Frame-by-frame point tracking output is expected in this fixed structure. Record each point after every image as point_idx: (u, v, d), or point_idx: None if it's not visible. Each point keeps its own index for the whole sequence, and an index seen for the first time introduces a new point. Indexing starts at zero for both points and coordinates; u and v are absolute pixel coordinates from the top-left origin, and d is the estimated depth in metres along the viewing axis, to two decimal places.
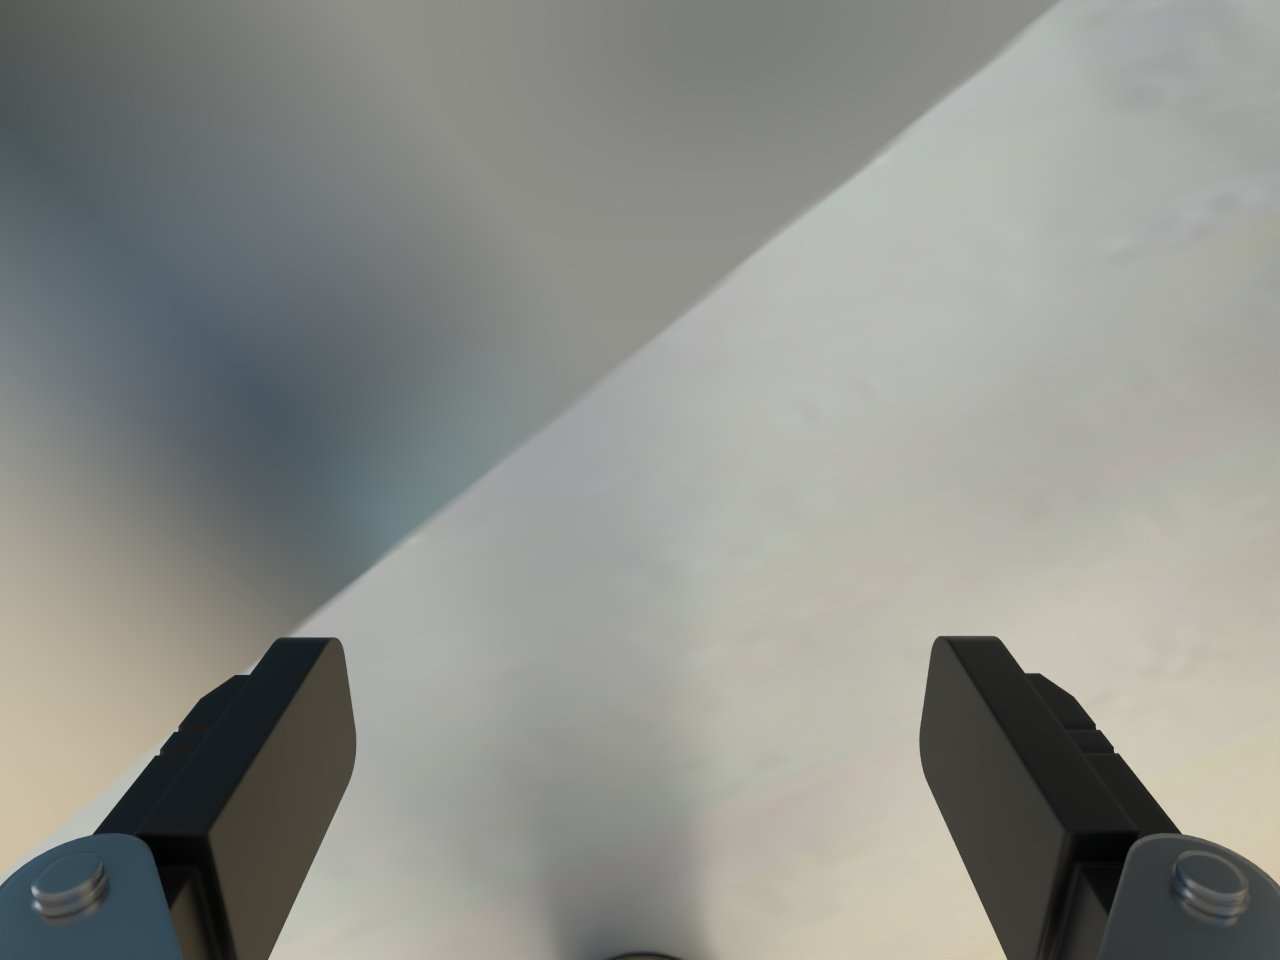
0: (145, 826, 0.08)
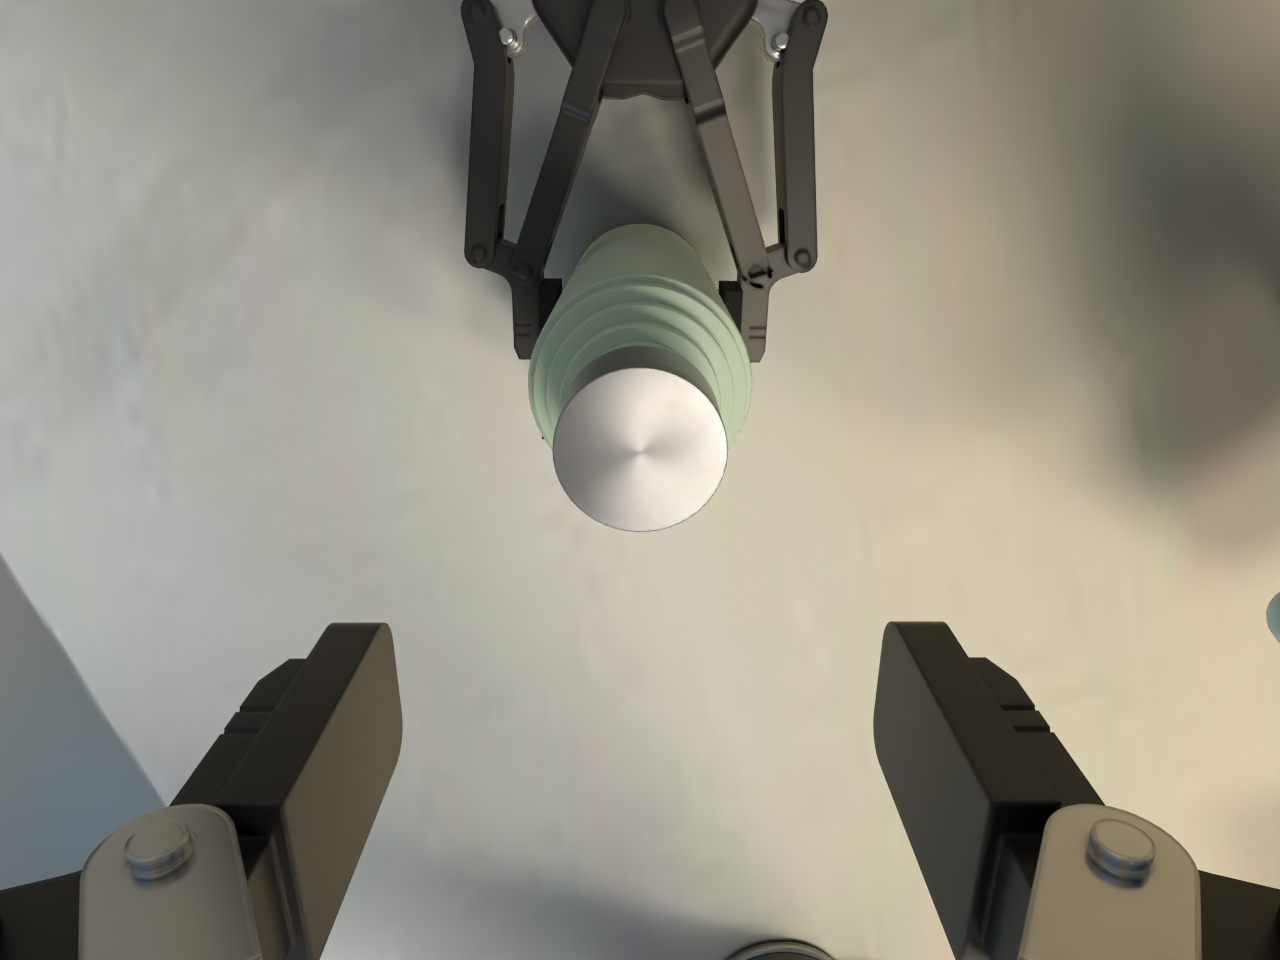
0: (223, 798, 0.08)
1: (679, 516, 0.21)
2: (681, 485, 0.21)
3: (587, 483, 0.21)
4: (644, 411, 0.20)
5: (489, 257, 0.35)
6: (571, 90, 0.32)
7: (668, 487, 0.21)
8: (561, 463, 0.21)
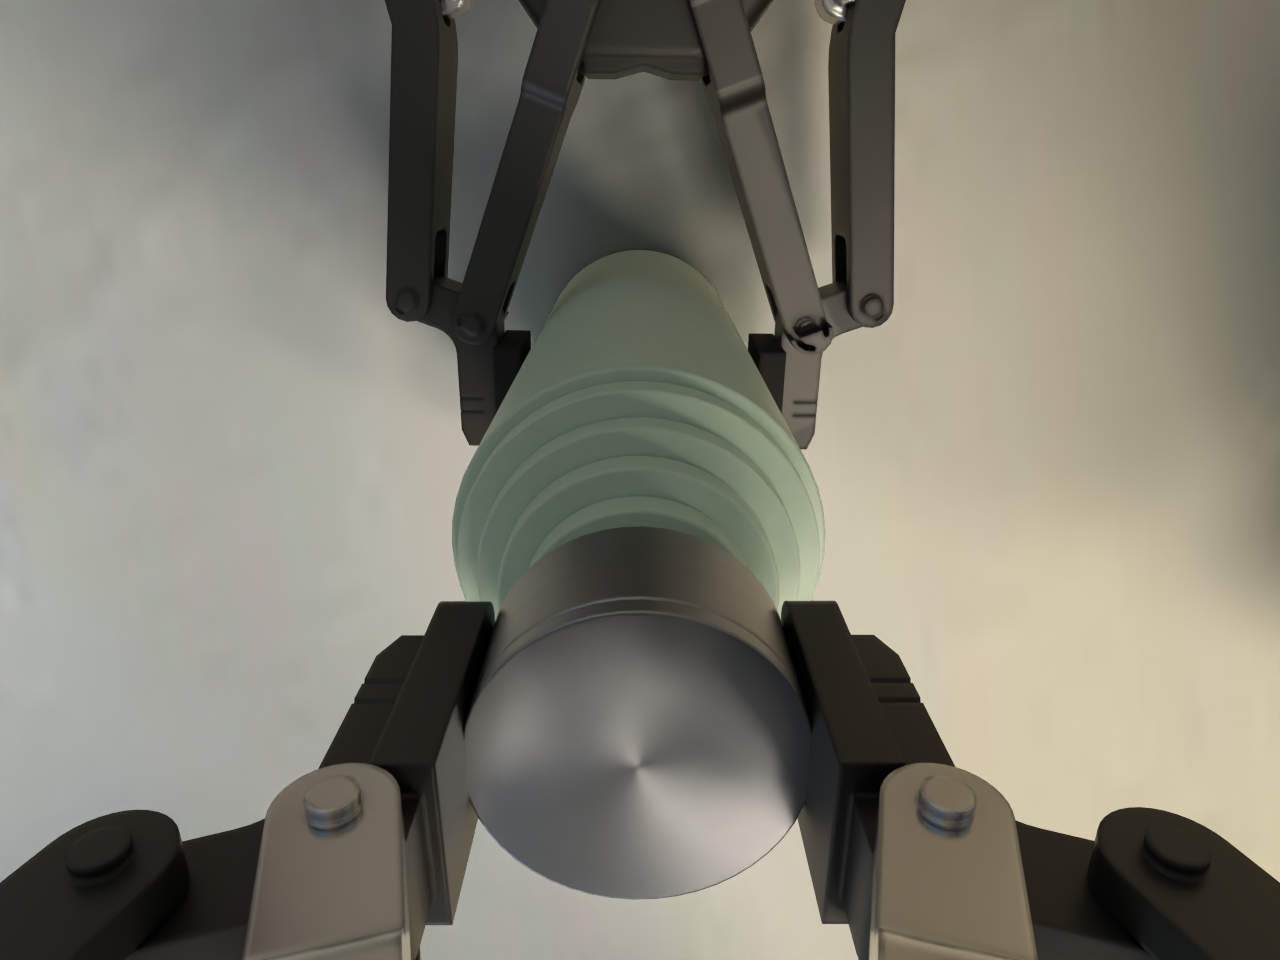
0: (376, 758, 0.09)
1: (715, 874, 0.11)
2: (720, 822, 0.11)
3: (532, 819, 0.11)
4: (646, 692, 0.10)
5: (422, 306, 0.24)
6: (536, 63, 0.21)
7: (694, 826, 0.11)
8: (479, 784, 0.10)
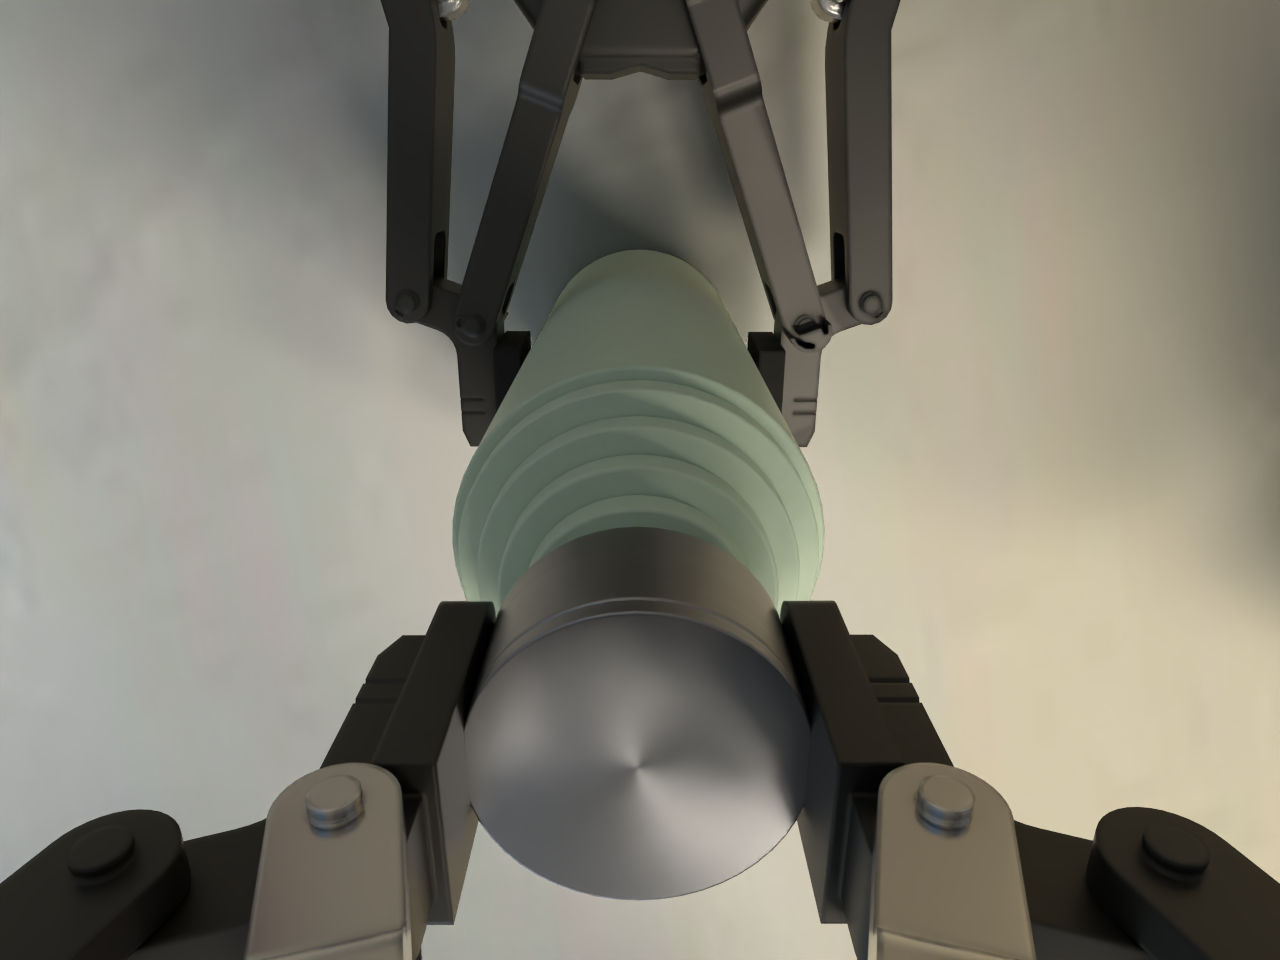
0: (378, 758, 0.09)
1: (800, 744, 0.10)
2: (736, 721, 0.10)
3: (661, 863, 0.11)
4: (556, 736, 0.10)
5: (422, 308, 0.24)
6: (532, 64, 0.21)
7: (730, 744, 0.10)
8: (606, 886, 0.11)
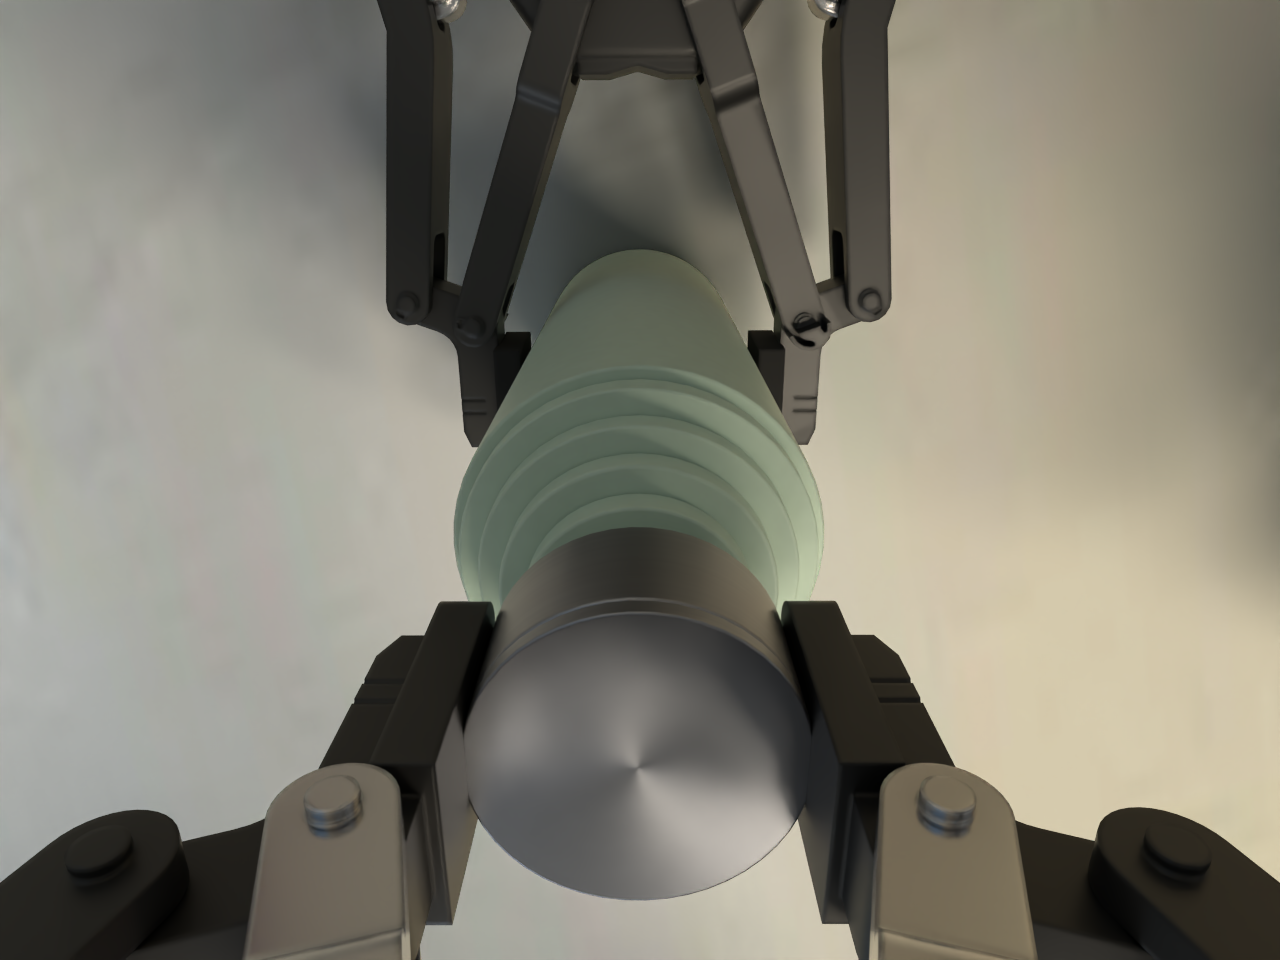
0: (376, 758, 0.09)
1: (669, 627, 0.10)
2: (619, 674, 0.10)
3: (762, 784, 0.10)
4: (575, 816, 0.11)
5: (422, 309, 0.24)
6: (530, 65, 0.22)
7: (643, 687, 0.10)
8: (770, 834, 0.11)
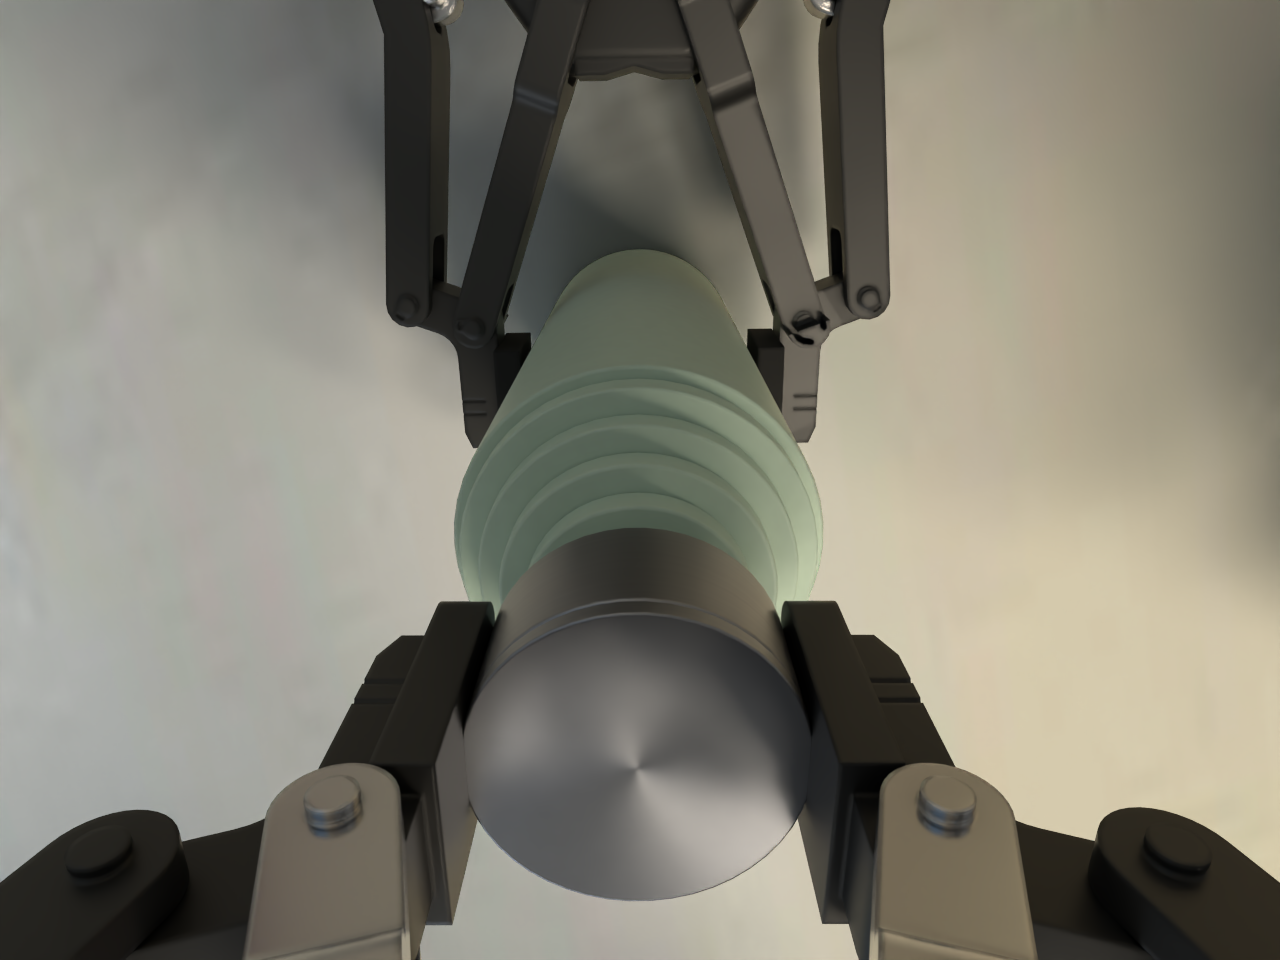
0: (376, 758, 0.09)
1: (491, 698, 0.10)
2: (527, 750, 0.10)
3: (702, 674, 0.10)
4: (672, 831, 0.11)
5: (422, 311, 0.24)
6: (527, 67, 0.22)
7: (547, 737, 0.10)
8: (771, 684, 0.10)
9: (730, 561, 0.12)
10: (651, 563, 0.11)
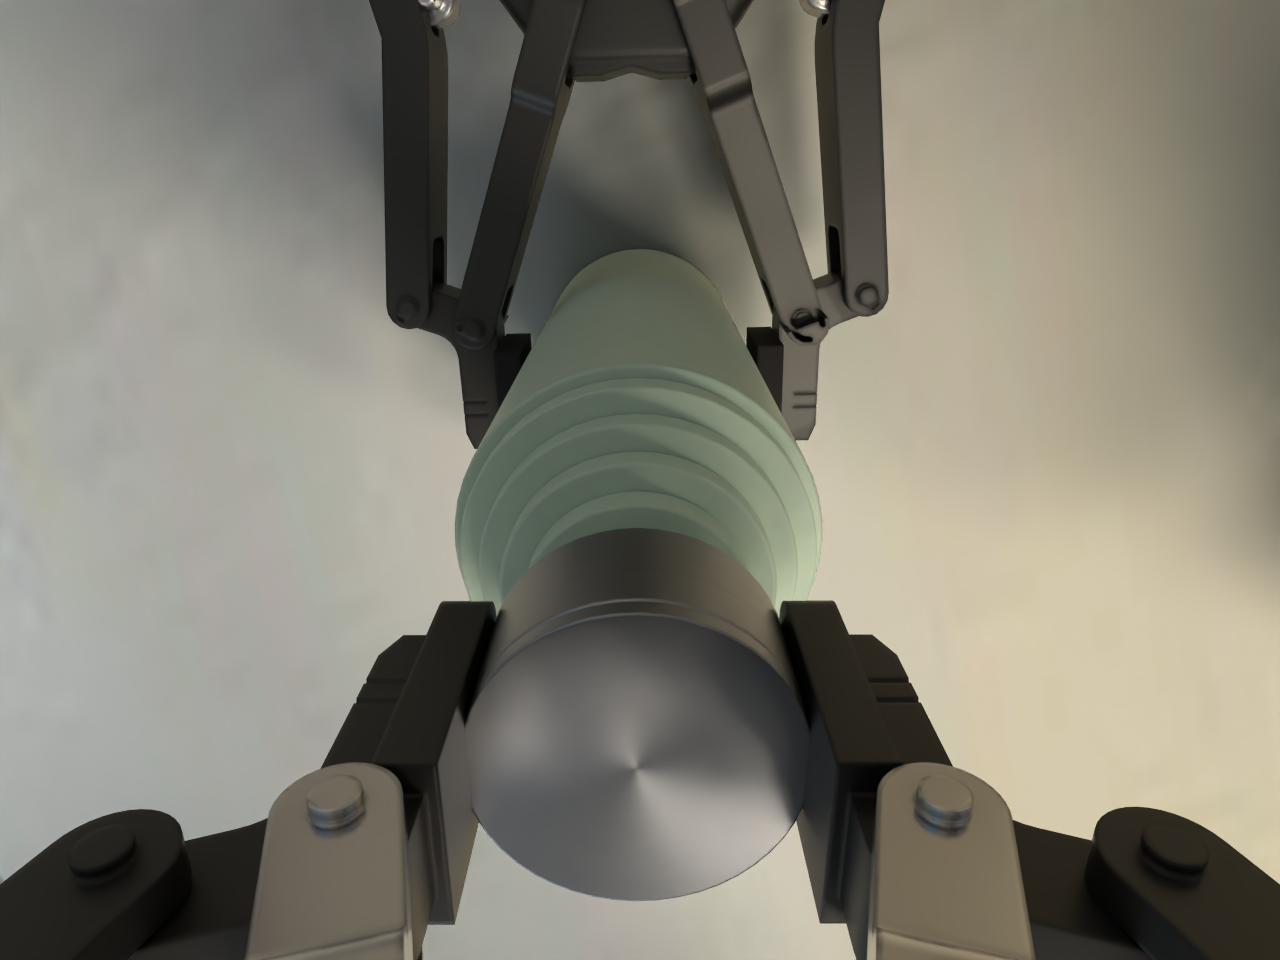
0: (379, 758, 0.09)
1: (515, 847, 0.11)
2: (581, 841, 0.11)
3: (550, 687, 0.10)
4: (724, 764, 0.10)
5: (422, 313, 0.24)
6: (524, 69, 0.22)
7: (572, 823, 0.11)
8: (585, 633, 0.10)
9: (550, 557, 0.12)
10: (488, 648, 0.11)
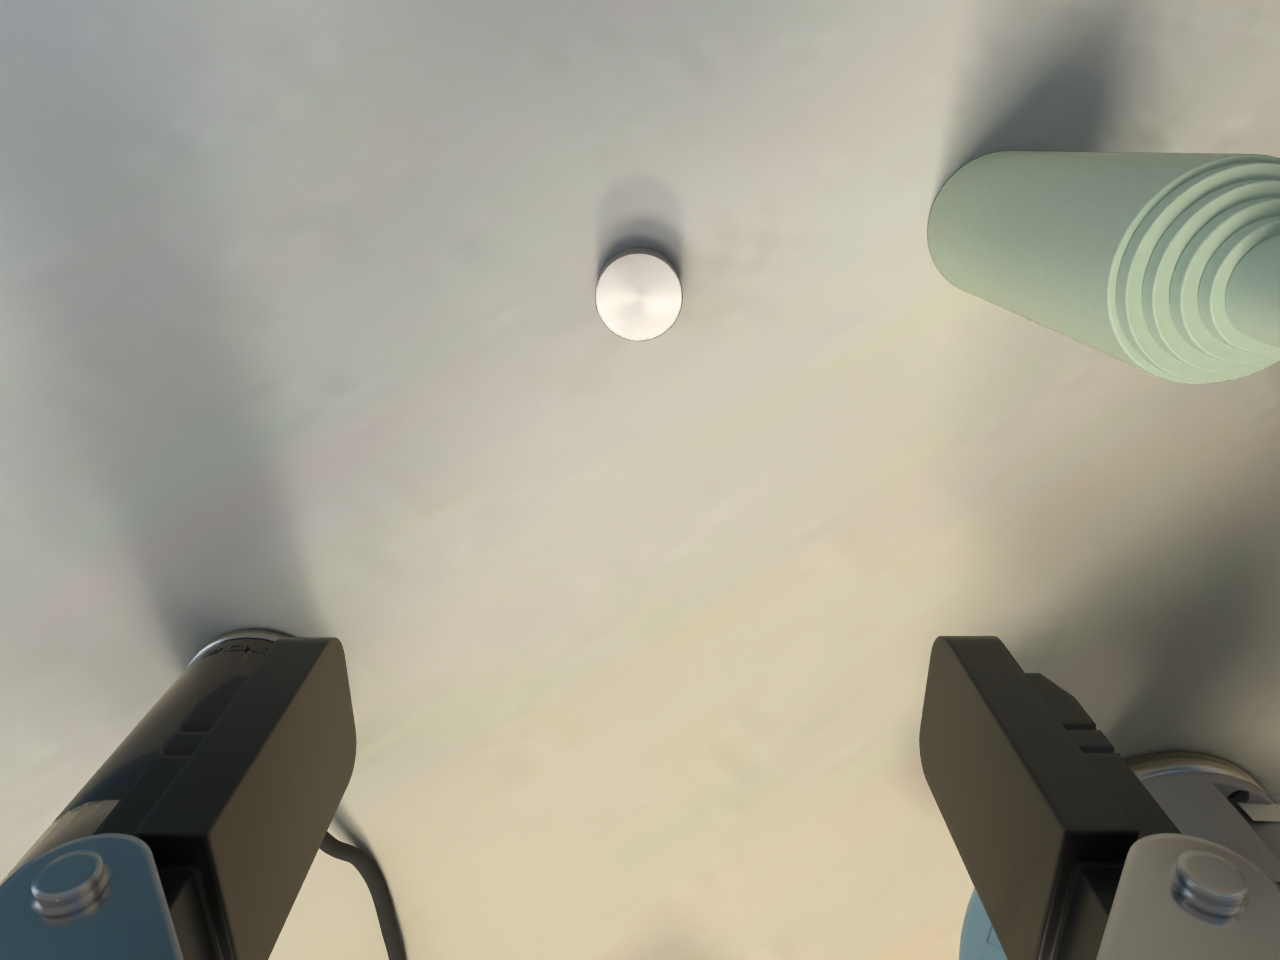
0: (145, 826, 0.08)
1: (651, 335, 0.42)
2: (655, 319, 0.42)
3: (609, 308, 0.42)
4: (644, 276, 0.41)
5: None
6: None
7: (649, 319, 0.42)
8: (598, 295, 0.42)
9: None
10: None
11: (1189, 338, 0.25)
